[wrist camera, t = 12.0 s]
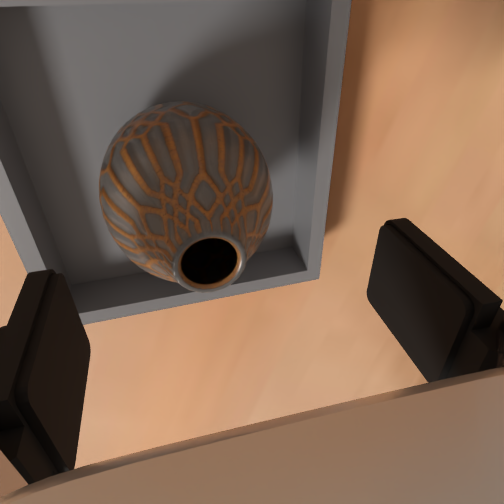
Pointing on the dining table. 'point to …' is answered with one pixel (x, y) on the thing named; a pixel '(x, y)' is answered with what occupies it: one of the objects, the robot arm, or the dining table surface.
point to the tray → (150, 94)
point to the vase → (186, 194)
